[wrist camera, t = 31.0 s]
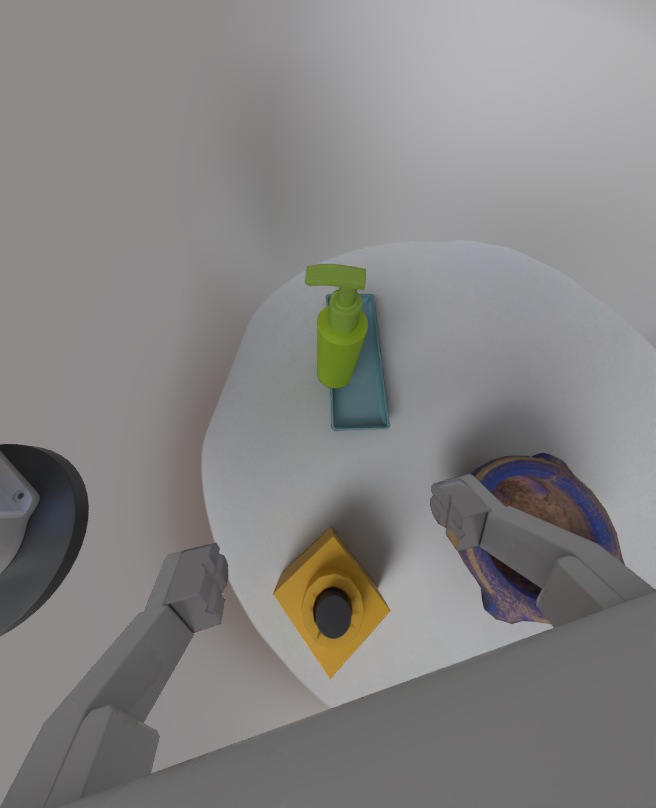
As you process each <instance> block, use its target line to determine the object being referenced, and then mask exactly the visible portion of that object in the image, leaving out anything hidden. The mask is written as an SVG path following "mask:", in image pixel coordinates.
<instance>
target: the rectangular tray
mask: <svg viewBox="0 0 656 808" xmlns="http://www.w3.org/2000/svg"><path fill="white" fill-rule="evenodd" d="M331 295H332V294H328V295H326V306H328V305H329V302H330V297H331ZM359 295H360V296H361V298H362V309H361V310H362V311H363V312H364V314H365V315H366V317H367V320H368V329H367V333H366V336H365V339H364V342H363V345H362V348H361V351H360V354H359V357H358V360H357V363H356V366H355V369H354V372H353V376H352V378H351V380H350V382H349V383H348V384H347V385H346V386H344V387H341V388H330V396H331V427H332V429H333V430H334V431H340V430H363V429H388V428H389V427H390V423H389V416H388V408H387V400H386V393H385V385H384V377H383V369H382V360H381V352H380V343H379V335H378V327H377V318H376V310H375V302H374V296H373V295H372V294H359Z"/></svg>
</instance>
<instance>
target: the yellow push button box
mask: <svg viewBox="0 0 656 808" xmlns="http://www.w3.org/2000/svg"><path fill="white" fill-rule="evenodd" d="M328 589H337V590H340V591H341V592H342V593H343V594H344V595H345V596H346V598H347V600H348V603H349V606H350V610H351V624H350V626H349V629H348V630H347V632H346V633H345V634H344V635H343V636H341V637H339V638H336V639H331V638H327V637H325V636H324V635H323V634H322V633H321V632H320V631H319V629H318V627H317V624H316V603H317V600H318V598H319V597H320V595H321V594H322V593H323V592H324V591H326V590H328ZM273 595H274V596H275V598H276V599H277V601H278V602H279V603H280V605H281V606H282V608H283V609H284V611H285V612H286V614H287V615H288V617H289V618H290V620H291V621H292V623H293V624H294V626H295V627H296V629H297V630H298V632H299V633H300V635H301V636H302V638H303V639H304V641H305V642H306V644H307V645H308V647H309V648H310V650H311V651H312V653H313V654H314V656H315V657H316V659H317V660H318V662H319V663H320V665H321V666H322V668H323V669H324V671H325V672H326V674H327V675H328V677H329V678H330V679H331V678H332V677H333V675H334V674H335V673H336V672H337V671H338V670H339V669H340V667H341V666H342V665H343V664H344V663H345V662H346V661H347V660H348V658H349V657H350V656H351V655H352V654H353V653H354V652H355V650H356V649H357V648H358V647H359V646H360V645H361V644H362V642H363V641H364V640H365V639H366V638H367V637H368V636H369V635H370V633H371V632H372V631H373V630H374V629H375V628H376V627H377V625H378V624H379V623H380V622H381V621H382V620H383V619H384V618H385V616H386V615H387V614H388V613H389V612H390V609H389V607H388V605H387V604H386V602H385V600H384V599H383V597H382V595H381V594H380V592H379V590H378V588H377V587H376V586H375V584H374V583H373V582H372V581H371V579H370V578H369V577H368V575H367V574H366V573H365V571H364V570H363V569H362V568H361V566H360V565H359V564H358V562H357V561H356V560H355V559H354V557H353V556H352V555H351V553H350V552H349V551H348V549H347V548H346V547H345V546H344V544H343V543H342V542H341V540H340V539H339V538H338V536H337V535H336V534H335V533H334V531H333V530H332V529H331V528H329V529H328V530H327V531H326V532H325V533H324V534H323V535H322V536H321V537H320V538H319V539H318V540H317V541H315V542H314V543H313V544H312V545H311V546H310V547H309V548H308V549H307V550H306V551H305V552H304V553H303V554H302V555H301V556H300V557H299V558H298V559H296V560H295V561H294V562H293V563H292V564H291V565H290V566H289V567H288V568H287V569H286V570H285V571H284V572H283V573H282V574H281V575H280V578H279V580H278V583H277V585H276V588H275V590H274V593H273Z"/></svg>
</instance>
